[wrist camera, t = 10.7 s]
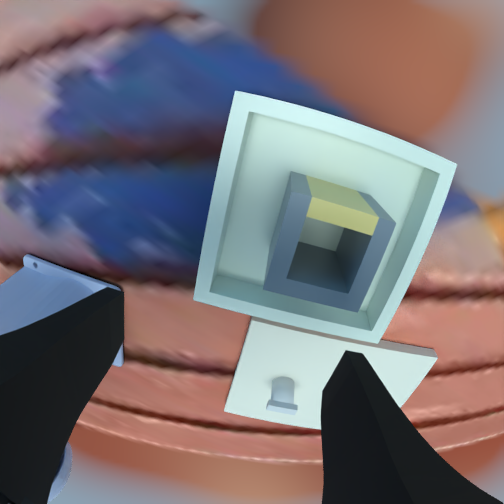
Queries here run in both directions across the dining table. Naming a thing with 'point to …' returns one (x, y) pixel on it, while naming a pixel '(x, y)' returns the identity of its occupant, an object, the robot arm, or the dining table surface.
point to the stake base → (311, 371)
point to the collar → (320, 259)
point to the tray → (314, 231)
